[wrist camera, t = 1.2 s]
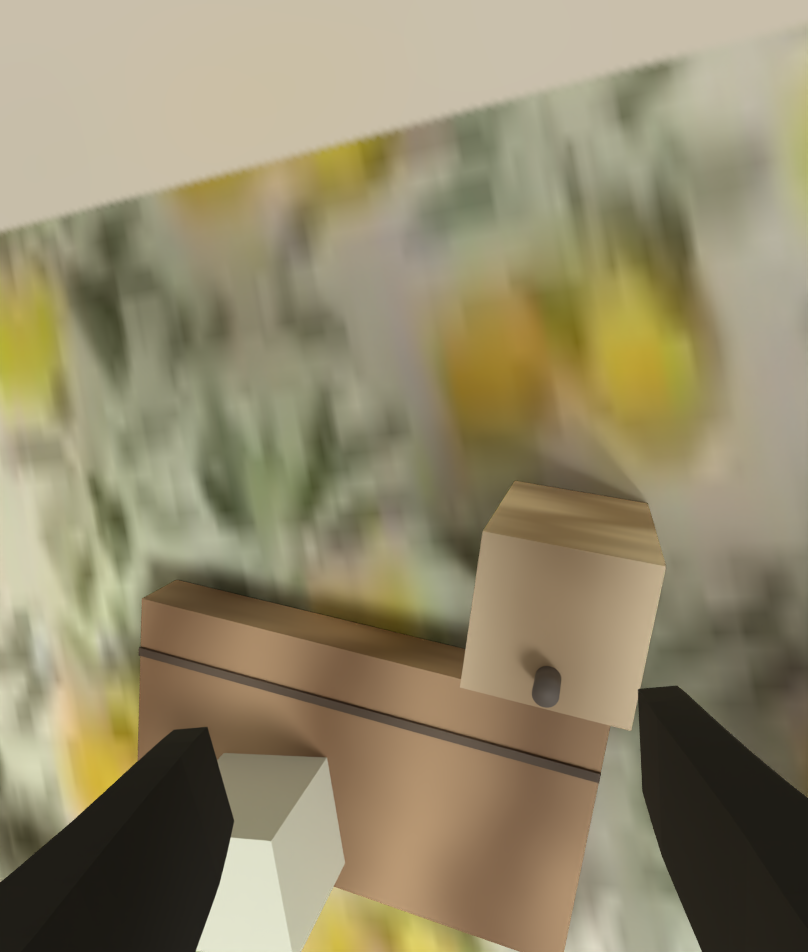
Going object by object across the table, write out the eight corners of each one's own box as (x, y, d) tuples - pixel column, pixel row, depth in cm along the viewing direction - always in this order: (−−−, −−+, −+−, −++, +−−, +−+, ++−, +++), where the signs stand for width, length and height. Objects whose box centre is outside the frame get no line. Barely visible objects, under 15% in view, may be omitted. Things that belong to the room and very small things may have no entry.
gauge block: (647, 503, 20) (670, 578, 13) (622, 625, 21) (632, 751, 14) (514, 480, 21) (476, 541, 14) (496, 598, 22) (453, 704, 15)
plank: (611, 684, 21) (612, 719, 19) (564, 915, 23) (560, 968, 21) (176, 579, 25) (140, 599, 23) (168, 784, 27) (134, 819, 25)
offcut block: (327, 757, 22) (271, 841, 19) (345, 863, 23) (294, 964, 19) (223, 753, 24) (151, 830, 20) (243, 853, 24) (177, 947, 20)
